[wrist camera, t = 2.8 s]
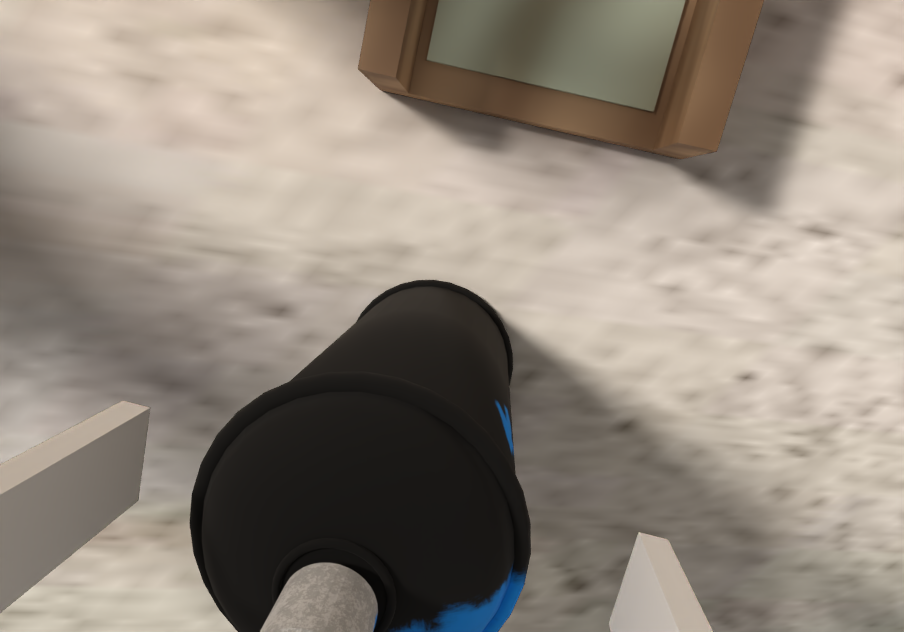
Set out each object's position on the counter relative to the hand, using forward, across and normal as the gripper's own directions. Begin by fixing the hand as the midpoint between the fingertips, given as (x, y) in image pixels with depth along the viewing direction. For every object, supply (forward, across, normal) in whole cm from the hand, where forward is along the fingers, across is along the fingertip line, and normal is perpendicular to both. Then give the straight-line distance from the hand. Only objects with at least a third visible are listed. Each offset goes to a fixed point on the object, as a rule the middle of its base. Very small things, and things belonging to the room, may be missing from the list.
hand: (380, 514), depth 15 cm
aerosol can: (+15, 0, 0) cm, 15 cm away
